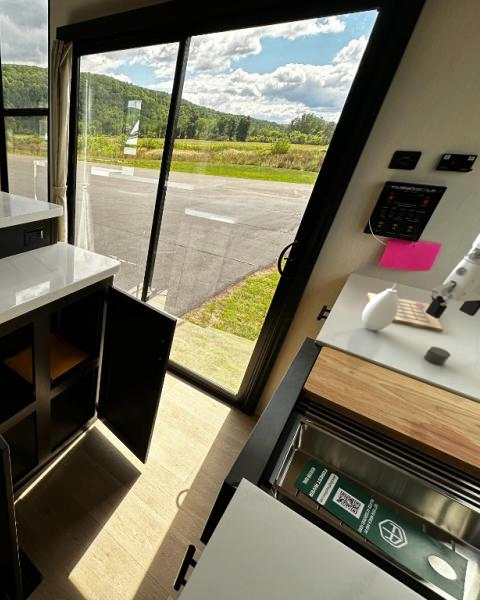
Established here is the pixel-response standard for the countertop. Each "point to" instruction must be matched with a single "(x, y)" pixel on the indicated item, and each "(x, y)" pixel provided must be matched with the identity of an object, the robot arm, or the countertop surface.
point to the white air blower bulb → (381, 310)
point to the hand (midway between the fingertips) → (449, 314)
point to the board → (413, 314)
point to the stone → (436, 355)
